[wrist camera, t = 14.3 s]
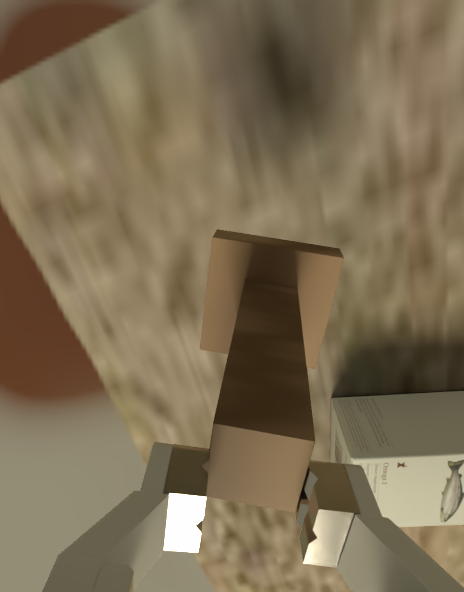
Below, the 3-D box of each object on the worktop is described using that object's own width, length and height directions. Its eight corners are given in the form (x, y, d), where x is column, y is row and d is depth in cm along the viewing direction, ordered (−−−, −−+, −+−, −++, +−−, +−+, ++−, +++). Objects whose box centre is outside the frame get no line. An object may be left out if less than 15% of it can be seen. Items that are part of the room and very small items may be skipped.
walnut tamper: (339, 248, 19) (410, 395, 9) (313, 353, 22) (344, 567, 11) (217, 229, 20) (146, 350, 9) (204, 335, 22) (137, 526, 12)
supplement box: (350, 458, 28) (536, 448, 28) (329, 395, 35) (476, 386, 35) (348, 533, 31) (518, 526, 30) (328, 461, 38) (466, 454, 37)
